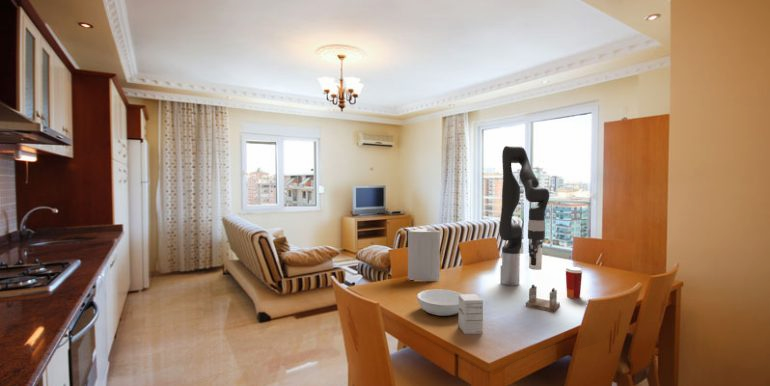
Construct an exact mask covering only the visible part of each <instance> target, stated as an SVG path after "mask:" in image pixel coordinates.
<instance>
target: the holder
mask: <svg viewBox="0 0 770 386" xmlns="http://www.w3.org/2000/svg"><path fill="white" fill-rule="evenodd" d="M528 291H529V292H528V300H527V301H526V302H525V307H528V308H534V309H538V310H542V311H548V312H553V313H555V312H556V311H557V309H559V307H560V306H561V303H560V301H557V300H558V299H557V298H558V297H557V294H558V292H557V291H558V290H557V289H555V287H553V288H552V289H551V291H550V292H549V300H548V299H542V298H537V286H535V284H532V285H531V287H529V289H528Z"/></svg>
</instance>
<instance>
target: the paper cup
mask: <svg viewBox="0 0 770 386" xmlns="http://www.w3.org/2000/svg"><path fill="white" fill-rule="evenodd" d="M564 272H565V283H566V284H565V285H566V288H565V289H566V297H567V298H570V299H573V300H576V299H577V300H578V299H580V297H581V289H582V288H581V287H582V275H583V272H584V271H583V269H582V268H581V267H576V266H575V267H574V266H567V267H565V269H564Z"/></svg>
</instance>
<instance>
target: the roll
mask: <svg viewBox="0 0 770 386" xmlns="http://www.w3.org/2000/svg"><path fill="white" fill-rule="evenodd" d="M536 250H537V249H535V251H536ZM532 254H533V253H532ZM528 256H529V255H528ZM542 259H543V247H542V248H539V249H538V253H537V257H536V265H535V266H534V265H531V257H530V256H529V258H528V269H530V270H535V271H536V270H537V271H538V270H539V271H541V270H542V269H543V268H542V264H543V260H542Z"/></svg>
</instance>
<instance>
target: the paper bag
mask: <svg viewBox="0 0 770 386" xmlns="http://www.w3.org/2000/svg"><path fill="white" fill-rule="evenodd" d="M440 235H441V231H440V230H437V229H435V228H431V227H424V228H418V229H412V230H411V229H410V230H408V231H407V280H408V279H409V280H408V281H410V280H420V281H419V282H426V281H437V282H439V281H438V280H440V276H441V275H440V272H441V271H440V270H441V269H440V268H441V267H440V266H441V264H440V259H441V251H440V249H441V246H440V245H441V243H440V242H441V241H440V240H441V236H440ZM421 280H422V281H421Z"/></svg>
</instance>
